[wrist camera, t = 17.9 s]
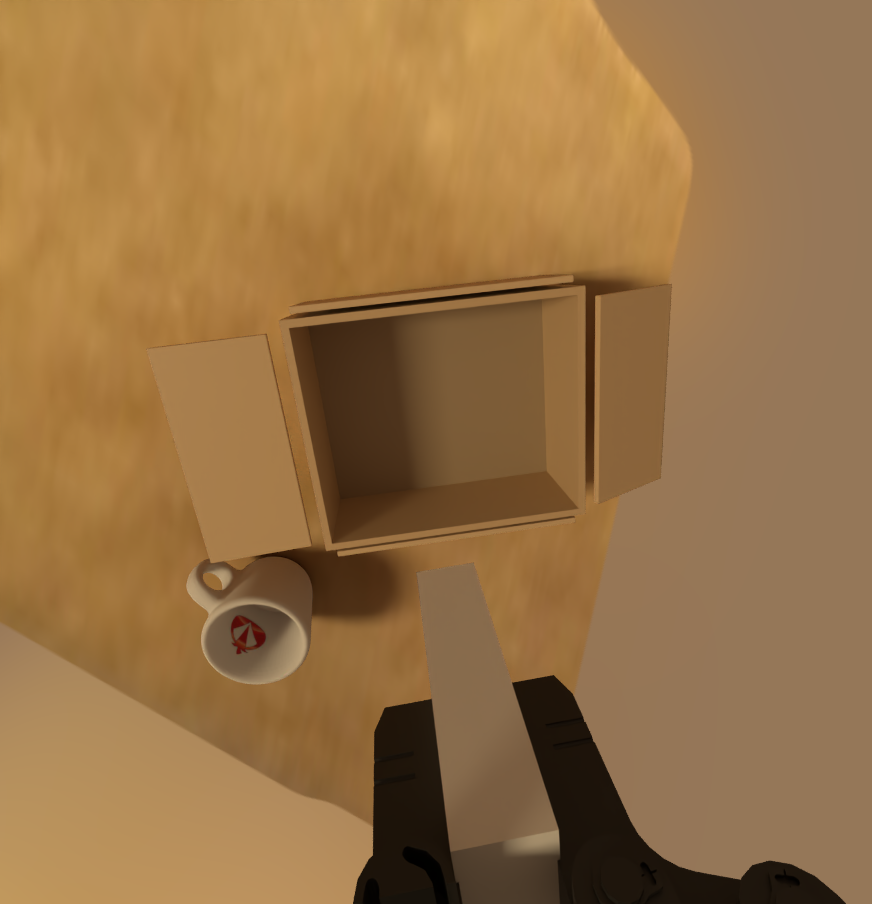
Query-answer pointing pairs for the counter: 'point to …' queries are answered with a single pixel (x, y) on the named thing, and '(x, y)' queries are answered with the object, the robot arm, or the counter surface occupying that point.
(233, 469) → the flap near
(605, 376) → the flap far
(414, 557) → the counter surface
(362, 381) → the carton
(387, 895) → the robot arm
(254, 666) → the cup
